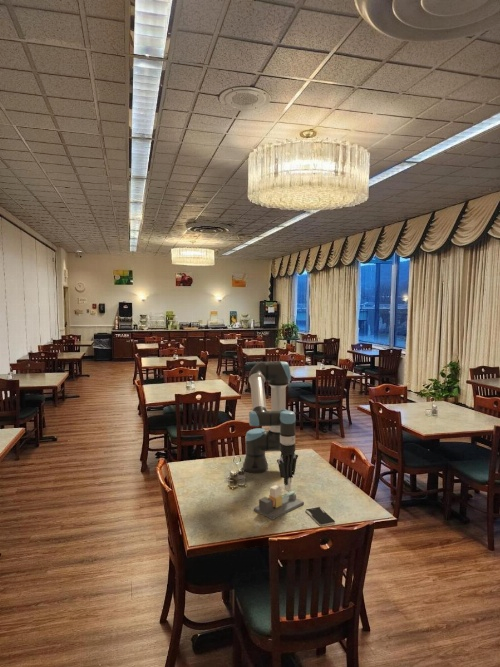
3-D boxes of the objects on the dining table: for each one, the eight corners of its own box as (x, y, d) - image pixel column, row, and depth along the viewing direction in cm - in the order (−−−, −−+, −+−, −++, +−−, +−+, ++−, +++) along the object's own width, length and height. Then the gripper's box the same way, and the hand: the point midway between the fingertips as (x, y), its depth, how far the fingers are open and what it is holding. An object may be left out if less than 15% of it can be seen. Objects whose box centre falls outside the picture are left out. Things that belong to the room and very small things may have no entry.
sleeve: (269, 504, 196) (269, 487, 196) (275, 501, 199) (275, 484, 199) (276, 507, 193) (276, 490, 193) (282, 505, 196) (282, 487, 195)
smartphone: (320, 524, 180) (304, 508, 194) (320, 527, 180) (304, 511, 194) (335, 521, 182) (319, 506, 197) (335, 524, 183) (319, 509, 197)
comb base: (254, 510, 195) (254, 497, 195) (285, 496, 210) (285, 483, 209) (271, 519, 186) (271, 505, 186) (303, 504, 201) (303, 491, 200)
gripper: (283, 448, 193) (283, 496, 195) (302, 442, 202) (302, 489, 203) (272, 444, 199) (272, 491, 200) (291, 438, 207) (291, 484, 209)
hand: (287, 490), depth 202 cm, fingers closed
